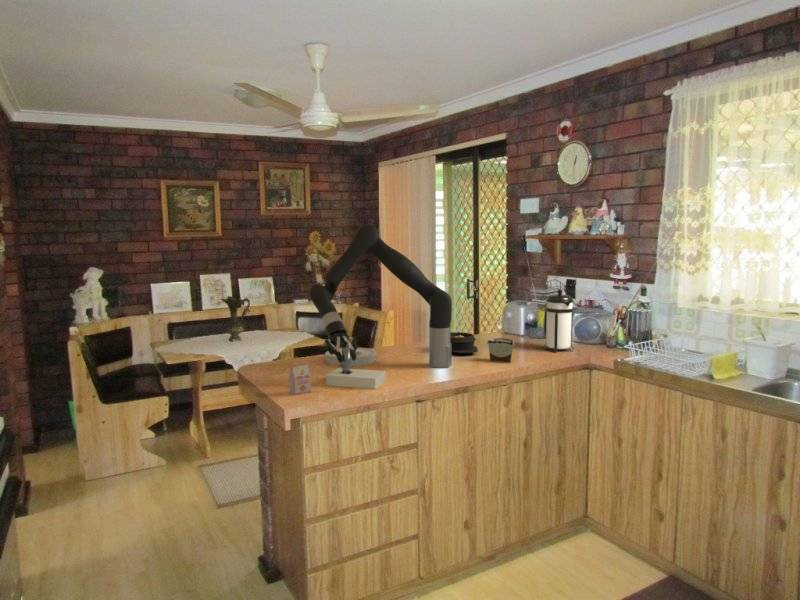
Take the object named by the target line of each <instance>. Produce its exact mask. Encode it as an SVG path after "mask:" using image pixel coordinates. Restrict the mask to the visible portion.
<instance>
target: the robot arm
mask: <svg viewBox="0 0 800 600" xmlns="http://www.w3.org/2000/svg"><path fill="white" fill-rule="evenodd" d="M354 234H355V235H354V238H353V239H352V241H351V243H350V245H349V246H348V247H347V249H346V250H345V251H344V252H343V253H342V254H341V256H339V258H338V259H337V260H336V261H335V263H333V265H331V268H329V270H327V273H325V274H324V280H325V283H324V285H323V284H321V283H314V284H312V285H311V287H310V288H309V292H308V293H309V297H310V300H311V301H312V303H313V305H314V306H315V308H316V309H317V311H318V314H319V317H320V319H321V321H322V325H323V328H324V330H325V332H326V336H327V338H326V339H324V342H323V345H324V347H325V349H326V350H327V351H329V353H330V354H331V355H332V354H335V355H336V357H337V359H338V361H340V363H342V362H343V357H342V355H341V352H339V351H340V350H339V348H342V347H344V346H348V347H350V356H351V358H352V360H353V361H355V360H356V357H357V356H356V353H355V351H356V349H357V348H359V347H358V341H357V337H356V335H353V336H350V335H348V333H347V330H346V327H345V324H344V323H343V321H342V318H341V316H340V315H339V313H338V310H337V308H336V306H335V304H334V303H333V302H332V300H333V298H334V297H335V295H336V293H337V291H338V287H339V286H340V284H341V283H342V282H343V281H344V280H345V278H346V276H347V275H348V273H350V271H351V270H352V268H353V267H354V266H355V264H356V263H357V261H358V260H359V259H360V258H361V256H363V254H364V253H365V252H366V251H367V252H369V253H370V254H371V255H373V256H374V257H375V258H376V259H377V260H378V261H379V262H380V263H381V264H382V265H383V266H384V268H386V269H388V270H387V271H390V273H391V274H392V275H393V276H395V277H396V278H397V279H398V280H399V281H401V282H402V283H403V284H405V285H406V286H407V287H409V288H410V289H412V290H413V291H415V292H417V294H418V295H419V296H420V297H422V298H423V300H425V302H426V303H428V305H429V306H430V309H429V311H430V313H429V315H430V316H429V323H428V324H429V325H428V326H429V328H428V329H429V330H428V331H429V333H428V334H429V336H428V337H429V341H428V343H429V345H428V346H429V347H428V348H429V350H428V352H429V355H428V357H429V359H428V360H429V365H428V366H429V367H431V368H440V369H441V368H443V369H444V368H450V367H451V366H452V358H453V357H452V356H453V355H452V354H453V353H452V344H451V343H450V333H451V324H452V313H453V311H452V310H453V309H452V307H453V305H452V303H453V302H452V297H451V296H450V293H448V292H447V291H445V290H442V288H440V287H438V286H437V285H436V284H435V283H433V282H432V281H430V280H429V279H428V278H427V276H426V275H425V274H424V272H422V270H420V269H419V268H418V266H417V265H416V264H415V263H414V262H412V260H410V259H409V258H408V257H407V256H405V255H404V254H402V253H401V252H399V251H398V250H396V249H394V248H392V247H391V246H390V245H389V244H387V243H385V241H384V240H383V239H382V238H381V237H380V236H379V232H378V229H377V227H375V226H374V225H372V224H363V225H361V226H359V227H358V229H357V230H356V232H355V233H354Z"/></svg>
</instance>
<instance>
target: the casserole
mask: <svg viewBox="0 0 800 600" xmlns="http://www.w3.org/2000/svg"><path fill="white" fill-rule="evenodd" d="M476 340H477V339H476V338H475V335H474V334H473V333H470V332H460V331H459V332H458V331H457V332H450V343H451V344H452V354H455V355H457V354H473V353H477V352H479V349H478V347H477V345H475V341H476Z"/></svg>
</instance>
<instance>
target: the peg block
mask: <svg viewBox="0 0 800 600" xmlns="http://www.w3.org/2000/svg"><path fill="white" fill-rule="evenodd" d="M385 382H386V371H385V370H373V369H359V368H350V374H342V367H337V368H336V369H334V370H332V371H330V372H329V373H327V374H326V375H325V385H326V386H328V387H329V386H331V387H342V388H343V387H345V388H358V389H359V388H360V389H369V390H371V389H372V390H376V389H377V388H378V387H380V386H381V385H382V384H383V383H385Z"/></svg>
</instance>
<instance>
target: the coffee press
mask: <svg viewBox="0 0 800 600" xmlns="http://www.w3.org/2000/svg"><path fill="white" fill-rule="evenodd" d="M545 302H546V307H545V309H544V323H543V324H544V327H543V328H544V334H545V344H544V345H543V347H542V348H543V349H544V348H545V349H547V348H550V349H553V353H556V352H557V353H558V350H569V351H571V352H574V351H575V348H574V347H573V316H574V315H573V313H574V312H573V311H574V310H573V309H574V307H573V303H574V300H573V297H571V296H570V295H568V294H563V290H561V289H558V290H557V294H550V295H548V296H547V298H546V299H545ZM545 349H544V350H545Z"/></svg>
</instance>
